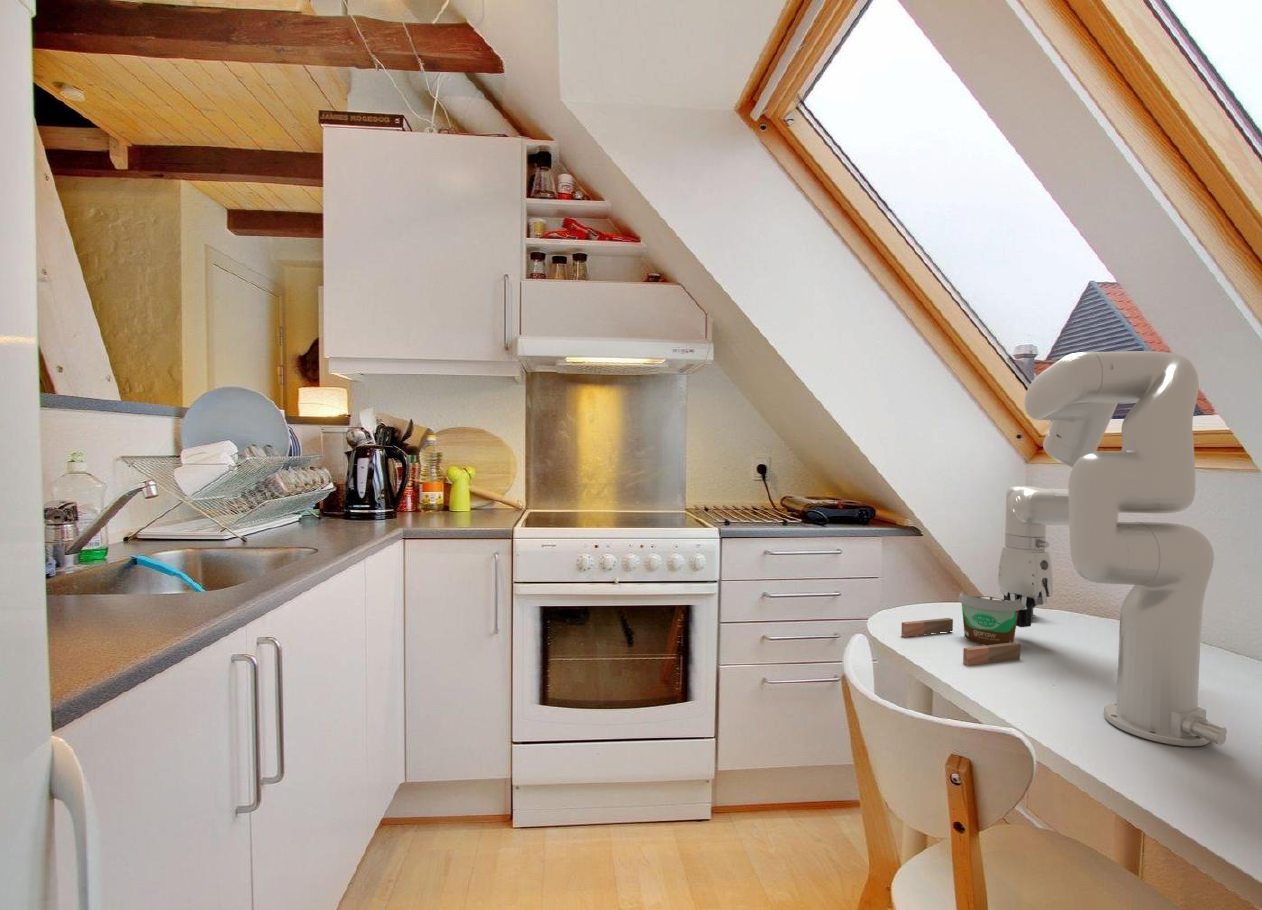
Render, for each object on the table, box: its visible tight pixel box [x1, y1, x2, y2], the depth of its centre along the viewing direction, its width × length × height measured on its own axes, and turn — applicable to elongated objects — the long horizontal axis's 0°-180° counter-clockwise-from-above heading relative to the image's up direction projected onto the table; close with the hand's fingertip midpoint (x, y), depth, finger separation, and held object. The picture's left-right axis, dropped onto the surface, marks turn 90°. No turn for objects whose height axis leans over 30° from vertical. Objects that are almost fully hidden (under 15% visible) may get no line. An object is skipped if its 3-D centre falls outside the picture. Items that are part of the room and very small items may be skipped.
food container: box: [957, 590, 1023, 646], centre depth 135 cm, size 12×6×10 cm, turn 62°
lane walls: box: [900, 617, 1021, 666], centre depth 133 cm, size 18×13×3 cm
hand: (1022, 625), depth 138 cm, fingers closed
